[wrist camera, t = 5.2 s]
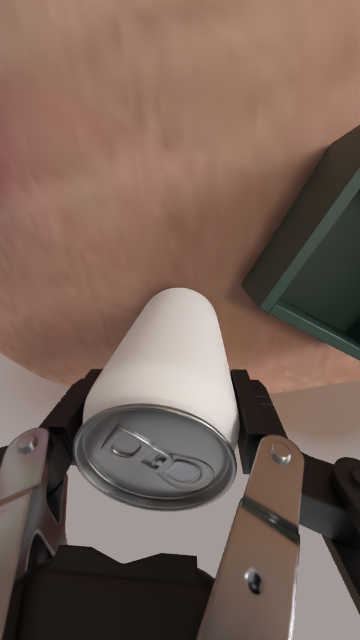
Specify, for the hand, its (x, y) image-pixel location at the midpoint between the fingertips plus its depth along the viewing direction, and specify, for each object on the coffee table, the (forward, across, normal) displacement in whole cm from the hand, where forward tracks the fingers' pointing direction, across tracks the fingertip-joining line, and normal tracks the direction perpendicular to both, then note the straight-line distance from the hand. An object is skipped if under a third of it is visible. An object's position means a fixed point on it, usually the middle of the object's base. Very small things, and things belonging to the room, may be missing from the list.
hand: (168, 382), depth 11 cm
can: (+8, 0, 0) cm, 8 cm away
